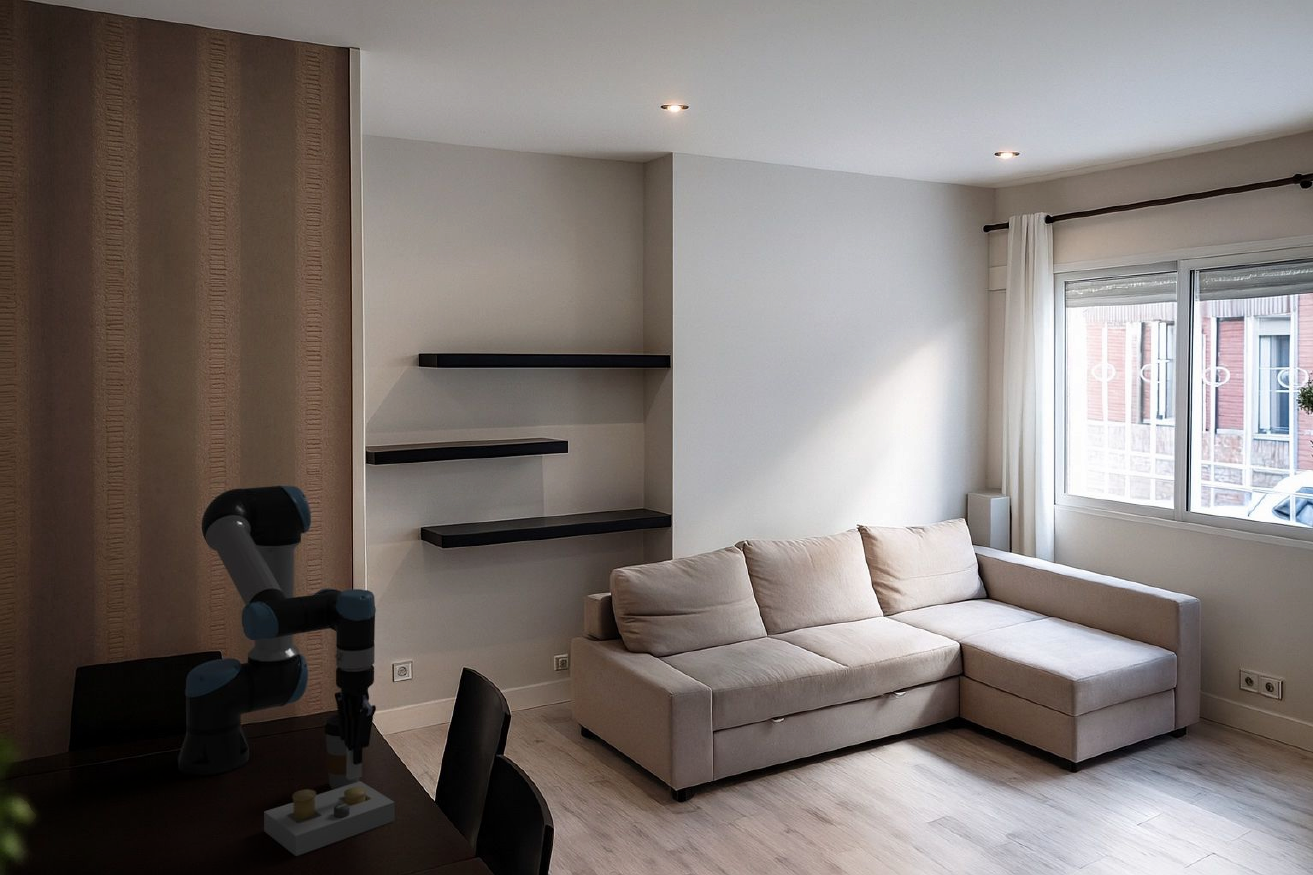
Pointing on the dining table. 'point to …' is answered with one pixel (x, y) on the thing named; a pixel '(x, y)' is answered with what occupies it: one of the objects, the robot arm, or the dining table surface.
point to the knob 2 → (354, 795)
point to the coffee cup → (336, 755)
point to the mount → (328, 820)
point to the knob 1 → (304, 803)
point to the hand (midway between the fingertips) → (354, 776)
